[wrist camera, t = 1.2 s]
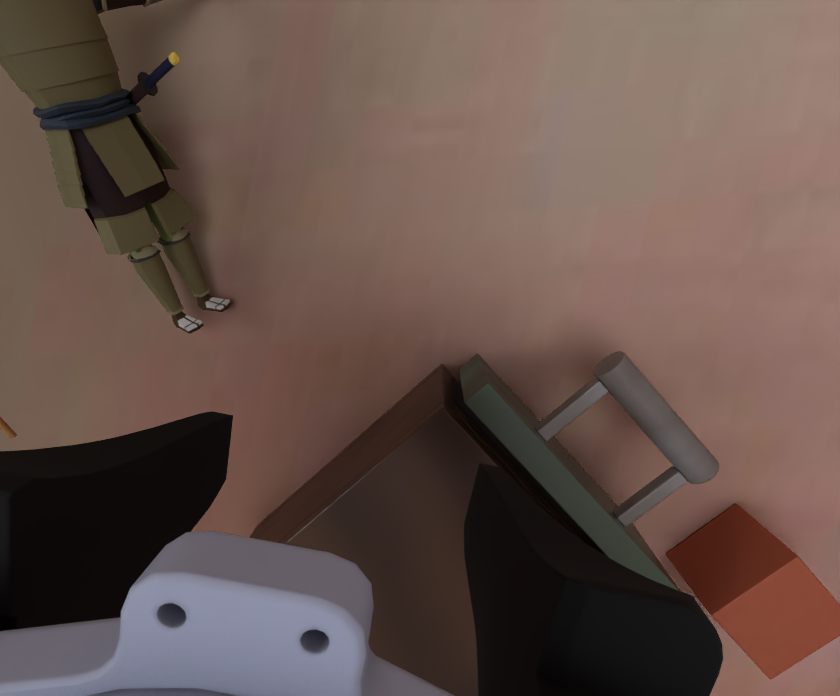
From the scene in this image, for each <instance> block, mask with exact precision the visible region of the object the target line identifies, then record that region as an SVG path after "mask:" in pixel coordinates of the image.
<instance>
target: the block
mask: <svg viewBox="0 0 840 696" xmlns="http://www.w3.org/2000/svg"><path fill="white" fill-rule="evenodd" d="M666 555H667V556H668V558H669V559H670V560H671V562H672V563H673V564H674V566H675V567H676V568H677V570H678V571H679V573H680V574H681V575H682V577H683V578H684V579H685V581H686V582H687V583H688V585H689V586H690V587H691V589H692V590H693V591H694V593H695V594H696V595H697V597H698V598H699V599H700V601H701V602H702V604H703V605H704V606H705V608H706V609H707V610H708V612H709V613H710V614H711V616H712V617H713V618H714V619H715V620H716V621H717V622H718V623H719V624H720V625H721V627H722V628H723V629H724V630H725V631H726V632H727V633H728V634H729V635H730V636H731V637H732V639H733V640H734V641H735V642H736V643H737V644H738V645H739V646H740V647H741V648H742V649H743V651H744V652H745V653H746V654H747V655H748V656H749V657H750V658H751V659H752V660H753V661H754V663H755V664H756V665H757V666H758V667H759V668H760V669H761V670H762V671H763V672H764V674H765V675H766V676H767V677H768V678H769V679H772V678H774V677H776V676H777V675H779V674H780V673H782V672H783V671H785V670H787V669H788V668H790V667H791V666H793V665H794V664H796V663H798V662H799V661H801V660H802V659H804V658H805V657H807V656H808V655H810V654H812V653H813V652H815V651H816V650H818V649H819V648H821V647H823V646H824V645H826V644H827V643H829V642H830V641H832V640H833V639H835V638H837V637H838V636H840V604H839V603H838V602H837V601H836V600H835V599H834V597H833V596H832V595H831V594H830V593H829V592H828V590H827V589H826V588H825V587H824V586H823V585H822V583H821V582H820V581H819V580H818V579H817V578H816V577H815V575H814V574H813V573H812V572H811V571H810V570H809V568H808V567H807V566H806V565H805V564H804V563H803V561H802V560H801V559H800V558H799V557H798V556H797V555H796V554H795V553H794V552H792V551H791V550H790V549H789V548H788V547H787V546H785V545H784V544H783V543H782V542H781V541H780V540H778V539H777V538H776V537H775V536H774V535H773V534H771V533H770V532H769V531H768V530H767V529H766V528H764V527H763V526H762V525H761V524H760V523H759V522H757V521H756V520H755V519H754V518H753V517H752V516H750V515H749V514H748V513H747V512H746V511H745V510H743V509H742V508H741V507H740V506H739V505H738V504H735V505H733V506H732V507H730V508H729V509H728V510H726V511H725V512H723V513H722V514H721V515H719V516H718V517H716V518H715V519H714V520H712V521H711V522H710V523H708V524H707V525H705V526H704V527H703V528H701V529H700V530H698V531H697V532H696V533H694V534H693V535H691V536H690V537H689V538H687V539H686V540H684V541H683V542H682V543H680V544H679V545H678V546H676V547H675V548H673V549H672V550H671V551H669V552H668V553H666Z"/></svg>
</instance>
